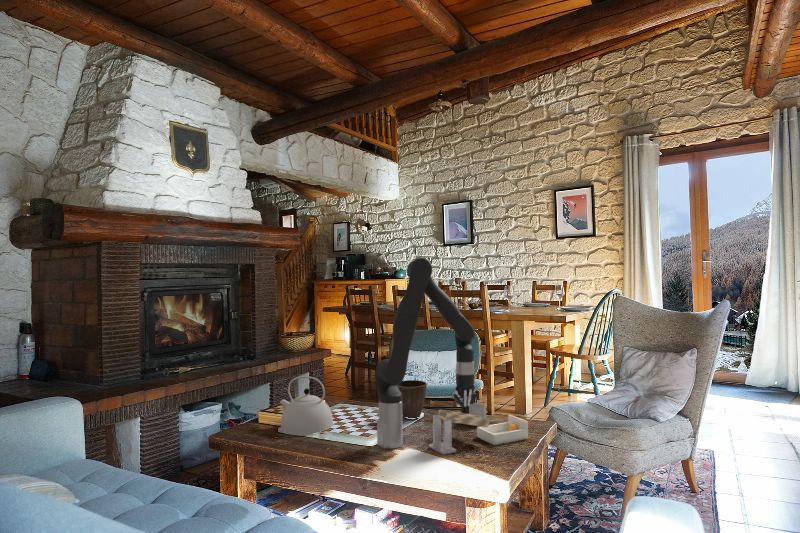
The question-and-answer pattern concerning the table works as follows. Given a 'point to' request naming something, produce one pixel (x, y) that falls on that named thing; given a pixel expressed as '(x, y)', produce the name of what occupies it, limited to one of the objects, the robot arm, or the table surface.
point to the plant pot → (412, 397)
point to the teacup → (478, 410)
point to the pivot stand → (447, 436)
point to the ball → (512, 427)
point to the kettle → (305, 413)
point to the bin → (504, 431)
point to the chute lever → (463, 418)
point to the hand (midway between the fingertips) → (465, 415)
